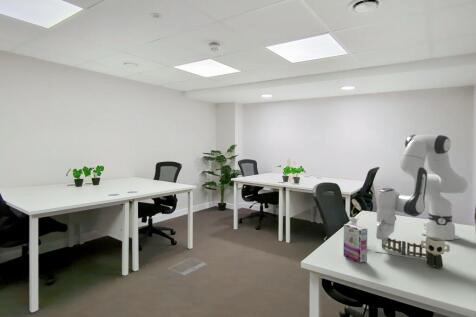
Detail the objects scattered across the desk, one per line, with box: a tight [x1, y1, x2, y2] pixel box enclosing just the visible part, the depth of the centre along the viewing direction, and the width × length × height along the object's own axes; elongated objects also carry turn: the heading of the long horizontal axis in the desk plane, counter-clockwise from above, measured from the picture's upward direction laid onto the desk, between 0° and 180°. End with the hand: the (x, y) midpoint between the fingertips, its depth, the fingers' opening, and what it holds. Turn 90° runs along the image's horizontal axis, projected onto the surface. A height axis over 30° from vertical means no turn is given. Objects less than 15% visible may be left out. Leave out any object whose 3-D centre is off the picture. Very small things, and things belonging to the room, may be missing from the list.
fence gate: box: [381, 237, 402, 253], centre depth 145 cm, size 1×10×6 cm, turn 35°
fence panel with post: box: [401, 240, 429, 258], centre depth 138 cm, size 2×12×7 cm, turn 62°
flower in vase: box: [342, 198, 362, 239], centre depth 161 cm, size 13×11×25 cm
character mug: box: [420, 236, 451, 269], centre depth 126 cm, size 11×7×13 cm, turn 57°
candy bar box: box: [343, 223, 368, 264], centre depth 135 cm, size 11×5×16 cm, turn 21°
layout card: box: [375, 242, 427, 261], centre depth 145 cm, size 15×25×1 cm, turn 62°
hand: (385, 243), depth 146 cm, fingers closed
